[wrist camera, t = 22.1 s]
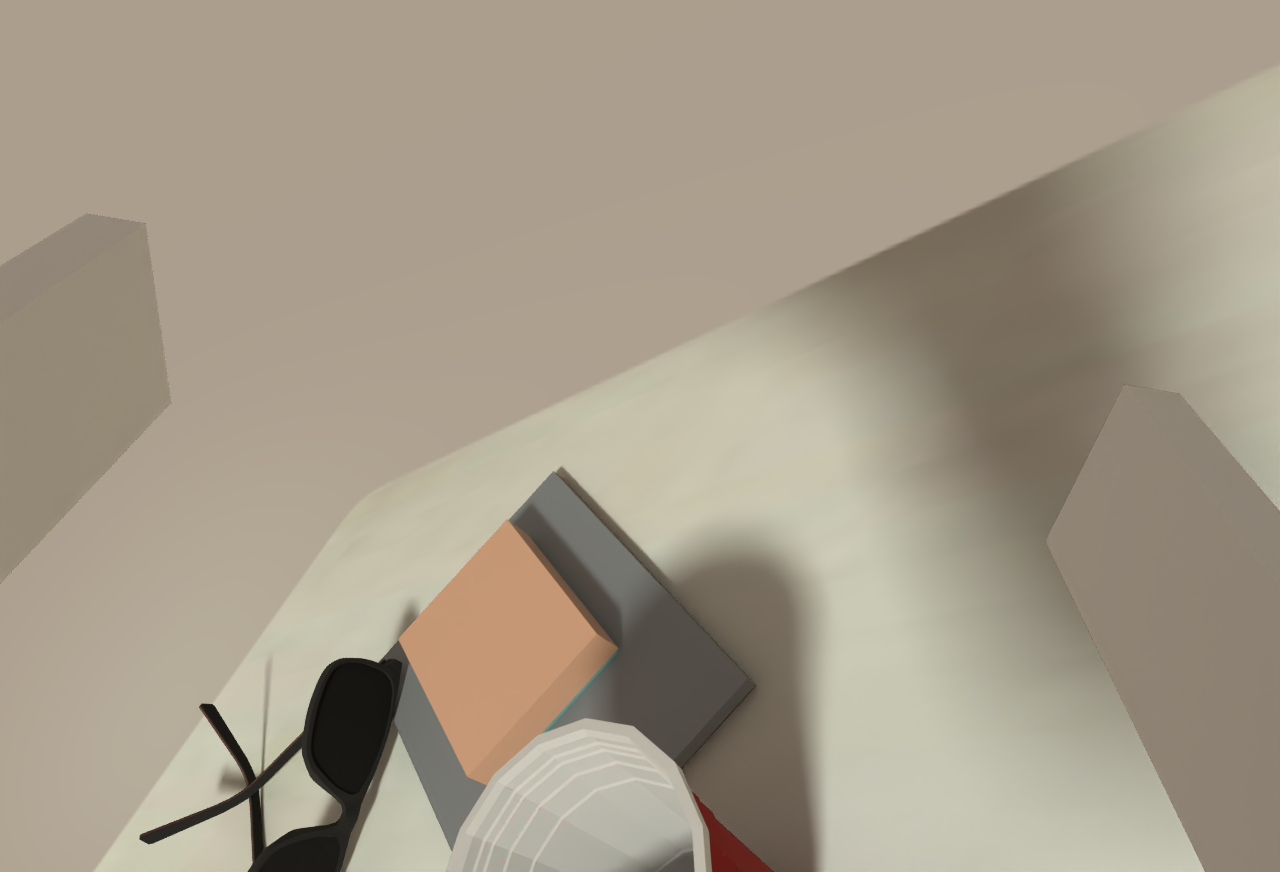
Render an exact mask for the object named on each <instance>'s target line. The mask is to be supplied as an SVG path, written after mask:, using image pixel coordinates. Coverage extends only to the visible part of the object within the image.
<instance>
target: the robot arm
mask: <svg viewBox="0 0 1280 872" xmlns="http://www.w3.org/2000/svg"><path fill="white" fill-rule="evenodd" d="M170 404H171V396H170V390H169V382H168V376H167V368H166V361H165V355H164V347H163V340H162V333H161V327H160V319H159V312H158V306H157V299H156V292H155V284H154V278H153V271H152V264H151V257H150V250H149V243H148V236H147V229H146V223H140V222H134V221H129V220H122V219H116V218H110V217H104V216H98V215H92V214H85V215H83V216H82V217H80V218H78V219H77V220H75V221H73V222H72V223H70V224H69V225H67V226H65V227H64V228H62V229H60V230H59V231H57V232H55V233H54V234H52V235H50V236H49V237H47V238H46V239H44V240H42V241H40V242H39V243H37V244H36V245H34V246H32V247H31V248H29V249H27V250H26V251H24V252H22V253H21V254H19V255H17V256H16V257H14V258H12V259H11V260H9V261H7V262H6V263H4V264H3V265H1V266H0V584H1V583H2V582H3V580H4V579H5V578H6V577H7V576H8V575H9V574H10V573H11V572H12V571H13V570H14V569H15V568H16V567H17V566H18V565H19V564H20V562H21V561H22V560H23V559H24V558H25V557H26V556H27V555H28V554H29V553H30V552H31V551H32V550H33V549H34V548H35V547H36V546H37V545H38V543H39V542H40V541H41V540H42V539H43V538H44V537H45V536H46V535H47V534H48V533H49V532H50V531H51V530H52V529H53V528H54V527H55V526H56V524H57V523H58V522H59V521H60V520H61V519H62V518H63V517H64V516H65V515H66V514H67V513H68V512H69V511H70V510H71V509H72V507H73V506H74V505H75V504H76V503H77V502H78V501H79V500H80V499H81V498H82V497H83V496H84V495H85V494H86V493H87V491H89V489H90V488H91V487H92V486H93V485H94V484H95V483H96V482H97V481H98V480H99V479H100V478H101V477H102V476H103V475H104V474H105V473H106V471H107V470H108V469H109V468H110V467H111V466H112V465H113V464H114V463H115V462H116V461H117V460H118V459H119V458H120V457H121V456H122V454H124V452H125V451H126V450H127V449H128V448H129V447H130V446H131V445H132V444H133V443H134V442H135V440H137V439H138V438H139V437H140V435H141V434H142V433H143V432H144V431H145V430H146V429H147V428H148V427H149V426H150V425H151V424H152V423H153V422H154V421H155V420H156V419H157V418H158V416H159V415H160V414H161V413H162V412H163V411H164V410H165V409H166V408H167V407H168V406H169V405H170ZM1045 542H1046V544H1047V546H1048V548H1049V550H1050V552H1051V554H1052V556H1053V558H1054V560H1055V562H1056V565H1057V567H1058V569H1059V571H1060V573H1061V575H1062V577H1063V579H1064V581H1065V583H1066V585H1067V587H1068V589H1069V591H1070V593H1071V596H1072V598H1073V600H1074V602H1075V604H1076V606H1077V608H1078V610H1079V612H1080V614H1081V616H1082V618H1083V620H1084V622H1085V624H1086V627H1087V629H1088V631H1089V633H1090V635H1091V637H1092V639H1093V641H1094V643H1095V645H1096V647H1097V649H1098V651H1099V653H1100V655H1101V658H1102V660H1103V662H1104V664H1105V666H1106V668H1107V670H1108V672H1109V674H1110V676H1111V678H1112V680H1113V682H1114V684H1115V686H1116V689H1117V691H1118V693H1119V695H1120V697H1121V699H1122V701H1123V703H1124V705H1125V707H1126V709H1127V711H1128V713H1129V715H1130V717H1131V720H1132V722H1133V724H1134V726H1135V728H1136V730H1137V732H1138V734H1139V736H1140V738H1141V740H1142V742H1143V744H1144V746H1145V748H1146V751H1147V753H1148V755H1149V757H1150V759H1151V761H1152V763H1153V765H1154V767H1155V769H1156V771H1157V773H1158V775H1159V777H1160V779H1161V781H1162V784H1163V786H1164V788H1165V790H1166V792H1167V794H1168V796H1169V798H1170V800H1171V802H1172V804H1173V806H1174V808H1175V810H1176V812H1177V815H1178V817H1179V819H1180V821H1181V823H1182V825H1183V827H1184V829H1185V831H1186V833H1187V835H1188V837H1189V839H1190V841H1191V843H1192V846H1193V848H1194V850H1195V852H1196V854H1197V856H1198V858H1199V860H1200V862H1201V864H1202V866H1203V868H1204V870H1205V872H1280V511H1279V510H1278V509H1277V507H1276V506H1275V505H1274V504H1273V503H1272V502H1271V500H1270V499H1269V498H1268V497H1267V496H1266V495H1265V493H1264V492H1263V491H1262V490H1261V489H1260V488H1259V486H1258V485H1257V484H1256V483H1255V482H1254V481H1253V479H1252V478H1251V477H1250V476H1249V475H1248V474H1247V472H1246V471H1245V470H1244V469H1243V468H1242V466H1241V465H1240V464H1239V463H1238V462H1237V461H1236V459H1235V458H1234V457H1233V456H1232V455H1231V454H1230V452H1229V451H1228V450H1227V449H1226V448H1225V447H1224V445H1223V444H1222V443H1221V442H1220V441H1219V440H1218V438H1217V437H1216V436H1215V435H1214V434H1213V433H1212V431H1211V430H1210V429H1209V428H1208V427H1207V425H1206V424H1205V423H1204V422H1203V421H1202V420H1201V418H1200V417H1199V416H1198V415H1197V414H1196V413H1195V411H1194V410H1193V409H1192V408H1191V407H1190V406H1189V404H1188V403H1187V402H1186V401H1185V400H1184V399H1183V397H1182V396H1181V395H1180V394H1178V393H1172V392H1166V391H1160V390H1154V389H1148V388H1142V387H1136V386H1130V385H1124V386H1123V388H1122V390H1121V392H1120V394H1119V396H1118V398H1117V400H1116V402H1115V404H1114V406H1113V408H1112V410H1111V412H1110V414H1109V416H1108V418H1107V420H1106V422H1105V424H1104V426H1103V428H1102V430H1101V432H1100V434H1099V436H1098V438H1097V440H1096V442H1095V444H1094V446H1093V448H1092V450H1091V452H1090V454H1089V456H1088V458H1087V460H1086V462H1085V464H1084V465H1083V467H1082V469H1081V471H1080V473H1079V475H1078V477H1077V479H1076V481H1075V483H1074V485H1073V487H1072V489H1071V491H1070V493H1069V495H1068V497H1067V499H1066V501H1065V503H1064V505H1063V507H1062V509H1061V511H1060V513H1059V515H1058V517H1057V519H1056V521H1055V523H1054V525H1053V527H1052V529H1051V531H1050V533H1049V535H1048V537H1047V539H1046V541H1045Z"/></svg>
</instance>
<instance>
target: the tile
mask: <svg viewBox="0 0 1280 872" xmlns="http://www.w3.org/2000/svg"><path fill="white" fill-rule="evenodd" d="M398 640H399V642H400V644H401V646H402V648H403V650H404V652H405V654H406V656H407V658H408V660H409V662H410V664H411V666H412V668H413V670H414V672H415V674H416V676H417V678H418V680H419V682H420V684H421V686H422V688H423V690H424V692H425V694H426V696H427V698H428V700H429V702H430V704H431V706H432V708H433V710H434V712H435V714H436V716H437V718H438V720H439V722H440V724H441V726H442V728H443V730H444V732H445V734H446V736H447V738H448V740H449V742H450V744H451V746H452V748H453V750H454V752H455V754H456V756H457V758H458V760H459V762H460V764H461V766H462V768H463V770H464V772H465V774H466V776H467V777H468V778H471V779H473V780H475V781H478V782H480V783H482V784H485V785H488V783H489V782H490V780H491V778H492V777H493V775H494V774H495V773H496V772H497V771H498V770H499V769H500V768H501V767H502V766H504V765H505V764H506V763H507V762H508V761H509V760H510V759H511V758H513V757H514V756H515V755H516V754H517V753H518V752H519V751H520V750H522V749H523V748H524V747H525V746H526V745H527V744H528V743H529V742H531V741H532V740H533V739H534V738H535V737H536V736H537V735H540V734H542V733H545V732H547V731H548V729H549V728H550V727H551V726H552V725H553V724H554V723H555V722H556V721H557V720H558V718H559V717H560V716H561V715H562V714H563V713H564V712H565V711H566V710H567V708H568V707H569V706H570V705H571V704H572V703H573V702H574V701H575V700H576V699H577V697H578V696H579V695H580V694H581V693H582V692H583V691H584V690H585V689H586V687H587V686H588V685H589V684H590V683H591V682H592V681H593V680H594V679H595V678H596V676H597V675H598V674H599V673H600V672H601V671H602V670H603V669H604V668H605V667H606V665H607V664H608V663H609V662H610V661H611V660H612V659H613V658H614V657H615V655H616V654H617V653H618V651H617V650H618V649H619V648H618V647H617V646H616V645H615V643H614V642H613V641H612V639H611V638H610V637H609V636H608V634H607V633H606V632H605V631H604V629H603V628H602V627H601V626H600V624H599V623H598V622H597V621H596V619H595V618H594V617H593V616H592V614H591V613H590V612H589V611H588V609H587V608H586V607H585V606H584V604H583V603H582V602H581V601H580V599H579V598H578V597H577V596H576V594H575V593H574V592H573V590H572V589H571V588H570V587H569V585H568V584H567V583H566V582H565V580H564V579H563V578H562V577H561V575H560V574H559V573H558V572H557V570H556V569H555V568H554V567H553V565H552V564H551V563H550V562H549V560H548V559H547V558H546V557H545V555H544V554H543V553H542V552H541V550H540V549H539V548H538V547H537V545H536V544H535V543H534V542H533V540H532V539H531V538H530V536H529V535H528V534H527V533H525V532H524V531H523V530H521V529H520V528H519V527H517V526H516V525H514V524H513V523H512V522H510V521H509V520H508V519H507V520H506V521H505V522H504V523H503V524H502V526H501V527H500V528H499V529H498V530H497V531H496V532H495V533H494V534H493V535H492V537H491V538H490V539H489V540H488V541H487V542H486V543H485V544H484V545H483V546H482V547H481V549H480V550H479V551H478V552H477V553H476V554H475V555H474V556H473V557H472V558H471V559H470V561H469V562H468V563H467V564H466V565H465V566H464V567H463V568H462V569H461V570H460V572H459V573H458V574H457V575H456V576H455V577H454V578H453V579H452V580H451V581H450V582H449V584H448V585H447V586H446V587H445V588H444V589H443V590H442V591H441V592H440V593H439V594H438V596H437V597H436V598H435V599H434V600H433V601H432V602H431V603H430V604H429V605H428V607H427V608H426V609H425V610H424V611H423V612H422V613H421V614H420V615H419V616H418V617H417V619H416V620H415V621H414V622H413V623H412V624H411V625H410V626H409V627H408V628H407V629H406V631H405V632H404V633H403V634H402V635H401V636H400V637H399V638H398Z"/></svg>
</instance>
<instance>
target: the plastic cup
mask: <svg viewBox="0 0 1280 872" xmlns="http://www.w3.org/2000/svg"><path fill="white" fill-rule="evenodd" d="M446 872H773V871H772V870H771V869H770V868H769V867H768V866H767V865H766V864H764V863H763V862H762V861H761V860H760V859H759V858H758V857H757V856H756V855H755V854H753V853H752V852H751V851H750V850H749V849H748V848H747V847H746V846H745V845H744V844H743V843H741V842H740V841H739V840H738V839H737V838H736V837H735V836H734V835H733V834H732V833H731V832H729V831H728V830H727V829H726V828H725V827H724V826H723V825H722V824H721V823H720V822H719V821H717V820H716V819H715V817H714V815H713V812H712V811H710V810H709V809H708V808H707V807H706V806H705V805H704V804H702V803H701V802H700V800H699V798H698V797H697V796H696V795H695V794H694V793H693V792H692V791H691V790H690V787H689V785H688V783H687V781H686V778H685V776H684V774H683V771H682V769H681V768H680V767H679V766H678V765H677V764H676V763H675V762H674V761H673V760H672V759H671V758H670V757H668V756H667V755H666V754H665V753H664V752H663V751H662V750H660V749H659V748H658V747H657V746H656V745H655V744H653V743H652V742H651V741H650V740H649V739H648V738H646V737H645V736H644V735H643V734H642V733H641V732H640V731H638V730H637V729H636V728H635V727H634V726H630V725H624V724H618V723H612V722H606V721H600V720H594V719H588V718H584V719H582V720H579V721H576V722H573V723H570V724H568V725H565V726H562V727H559V728H556V729H554V730H551V731H548V732H545V733H542V734H540V735H537V736H536V737H535V738H534V739H533V740H532V741H531V742H529V743H528V744H527V745H526V746H525V747H524V748H523V749H522V750H520V751H519V752H518V753H517V754H516V755H515V756H514V757H513V758H511V759H510V760H509V761H508V762H507V763H506V764H505V765H504V766H502V767H501V768H500V769H499V770H498V771H497V772H496V773H495V774H494V775H493V777H492V778H491V780H490V782H489V783H488V785H487V786H486V788H485V790H484V791H483V793H482V794H481V796H480V798H479V799H478V801H477V802H476V804H475V806H474V807H473V809H472V810H471V812H470V814H469V815H468V817H467V818H466V820H465V821H464V823H463V825H462V826H461V828H460V830H459V833H458V836H457V839H456V842H455V845H454V848H453V851H452V854H451V857H450V860H449V863H448V866H447V869H446Z"/></svg>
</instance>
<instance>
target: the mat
mask: <svg viewBox="0 0 1280 872" xmlns="http://www.w3.org/2000/svg"><path fill="white" fill-rule="evenodd" d="M509 521H510V522H512V523H513V524H514V525H516V526H517V527H519V528H520V529H521V530H523V531H524V532H525V533H527V534H528V535H529V536H530V538H531V539H532V540H533V542H534V543H535V544H536V545H537V547H538V548H539V549H540V550H541V552H542V553H543V554H544V555H545V557H546V558H547V559H548V560H549V562H550V563H551V564H552V565H553V567H554V568H555V569H556V570H557V572H558V573H559V574H560V575H561V577H562V578H563V579H564V580H565V582H566V583H567V584H568V585H569V587H570V588H571V589H572V590H573V592H574V593H575V594H576V596H577V597H578V598H579V599H580V601H581V602H582V603H583V604H584V606H585V607H586V608H587V609H588V611H589V612H590V613H591V614H592V616H593V617H594V618H595V619H596V621H597V622H598V623H599V624H600V626H601V627H602V628H603V629H604V631H605V632H606V633H607V634H608V636H609V637H610V638H611V639H612V641H613V642H614V643H615V645H616V646H617V647H618V648H619V649H618V650H617V651H618V653H617V654H616V655H615V657H614V658H613V659H612V660H611V661H610V662H609V663H608V664H607V665H606V667H605V668H604V669H603V670H602V671H601V672H600V673H599V674H598V675H597V676H596V678H595V679H594V680H593V681H592V682H591V683H590V684H589V685H588V686H587V687H586V689H585V690H584V691H583V692H582V693H581V694H580V695H579V696H578V697H577V699H576V700H575V701H574V702H573V703H572V704H571V705H570V706H569V707H568V708H567V710H566V711H565V712H564V713H563V714H562V715H561V716H560V717H559V718H558V720H557V721H556V722H555V723H554V724H553V725H552V726H551V727H550V728H549V729H548V731H551V730H554V729H556V728H559V727H562V726H565V725H568V724H570V723H573V722H576V721H579V720H582V719H584V718H588V719H594V720H600V721H606V722H612V723H618V724H624V725H630V726H634V727H635V728H636V729H637V730H638V731H640V732H641V733H642V734H643V735H644V736H645V737H646V738H648V739H649V740H650V741H651V742H652V743H653V744H655V745H656V746H657V747H658V748H659V749H660V750H662V751H663V752H664V753H665V754H666V755H667V756H668V757H670V758H671V759H672V760H673V761H674V762H675V763H676V764H677V765H678V766H679V767H680V768H682V767H683V766H684V764H685V763H686V762H687V761H688V760H689V759H690V758H691V757H692V756H693V754H694V753H695V752H696V751H697V750H698V749H699V748H700V747H701V746H702V744H703V743H704V742H705V741H706V740H707V739H708V738H709V737H710V736H711V734H712V733H713V732H714V731H715V730H716V729H717V728H718V727H719V726H720V724H721V723H722V722H723V721H724V720H725V719H726V718H727V717H728V716H729V714H730V713H731V712H732V711H733V710H734V709H735V708H736V707H737V706H738V704H739V703H740V702H741V701H742V700H743V699H744V698H745V697H746V696H747V694H748V693H749V692H750V691H751V690H752V689H753V688H754V687H755V686H756V685H755V684H754V683H753V682H752V681H751V680H750V679H749V678H748V676H747V675H746V674H745V673H744V672H743V671H742V670H741V669H740V668H739V667H738V666H737V665H736V664H735V663H734V662H733V660H732V659H731V658H730V657H729V656H728V655H727V654H726V653H725V652H724V651H723V650H722V649H721V648H720V647H719V645H718V644H717V643H716V642H715V641H714V640H713V639H712V638H711V637H710V636H709V635H708V634H707V633H706V632H705V631H704V629H703V628H702V627H701V626H700V625H699V624H698V623H697V622H696V621H695V620H694V619H693V618H692V617H691V616H690V615H689V613H688V612H687V611H686V610H685V609H684V608H683V607H682V606H681V605H680V604H679V603H678V602H677V601H676V600H675V599H674V597H673V596H672V595H671V594H670V593H669V592H668V591H667V590H666V589H665V588H664V587H663V586H662V585H661V584H660V582H659V581H658V580H657V579H656V578H655V577H654V576H653V575H652V574H651V573H650V572H649V571H648V570H647V569H646V568H645V566H644V565H643V564H642V563H641V562H640V561H639V560H638V559H637V558H636V557H635V556H634V555H633V554H632V553H631V552H630V550H629V549H628V548H627V547H626V546H625V545H624V544H623V543H622V542H621V541H620V540H619V539H618V538H617V537H616V536H615V534H614V533H613V532H612V531H611V530H610V529H609V528H608V527H607V526H606V525H605V524H604V523H603V522H602V521H601V519H600V518H599V517H598V516H597V515H596V514H595V513H594V512H593V511H592V510H591V509H590V508H589V507H588V506H587V505H586V503H585V502H584V501H583V500H582V499H581V498H580V497H579V496H578V495H577V494H576V493H575V492H574V491H573V490H572V489H571V487H570V486H569V485H568V484H567V483H566V482H565V481H564V480H563V479H562V478H561V477H560V476H559V475H557V474H556V473H555V472H554V471H553V472H552V473H551V474H550V476H549V477H548V478H547V479H546V480H545V481H544V482H543V483H542V484H541V485H540V486H539V488H538V489H537V490H536V491H535V492H534V493H533V494H532V495H531V496H530V497H529V499H528V500H527V501H526V502H525V503H524V504H523V505H522V506H521V507H520V508H519V509H518V511H517V512H516V513H515V514H514V515H513V516H512V517H511V518H510V519H509ZM383 659H385V660H388V659H396V660H398V661H400V662H402V669H401V676H400V682H399V688H398V694H397V700H396V705H395V711H394V714H393V720H394V722H395V725H396V727H397V729H398V731H399V734H400V736H401V738H402V740H403V743H404V745H405V747H406V749H407V752H408V754H409V756H410V758H411V761H412V763H413V765H414V767H415V770H416V772H417V774H418V776H419V779H420V781H421V783H422V785H423V788H424V790H425V792H426V794H427V797H428V799H429V801H430V803H431V806H432V808H433V810H434V813H435V815H436V817H437V819H438V822H439V824H440V826H441V828H442V831H443V833H444V835H445V837H446V840H447V842H448V844H449V846H450V849H451V851H453V848H454V845H455V842H456V839H457V836H458V833H459V830H460V828H461V826H462V825H463V823H464V821H465V820H466V818H467V817H468V815H469V814H470V812H471V810H472V809H473V807H474V806H475V804H476V802H477V801H478V799H479V798H480V796H481V794H482V793H483V791H484V790H485V788H486V786H487V785H485V784H482V783H480V782H478V781H475V780H473V779H471V778H468V777H467V776H466V774H465V772H464V770H463V768H462V766H461V764H460V762H459V760H458V758H457V756H456V754H455V752H454V750H453V748H452V746H451V744H450V742H449V740H448V738H447V736H446V734H445V732H444V730H443V728H442V726H441V724H440V722H439V720H438V718H437V716H436V714H435V712H434V710H433V708H432V706H431V704H430V702H429V700H428V698H427V696H426V694H425V692H424V690H423V688H422V686H421V684H420V682H419V680H418V678H417V676H416V674H415V672H414V670H413V668H412V666H411V664H410V662H409V660H408V658H407V656H406V654H405V652H404V650H403V648H402V646H401V644H400V642H399V641H398V642H397V643H396V644H395V645H394V646H393V647H392V648H391V649H390V651H389V652H388V653H387V654H386V655H385V656H384V657H383V658H382V659H381V660H383ZM381 660H380V661H381ZM380 661H379V662H380ZM548 731H547V732H548Z"/></svg>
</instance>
